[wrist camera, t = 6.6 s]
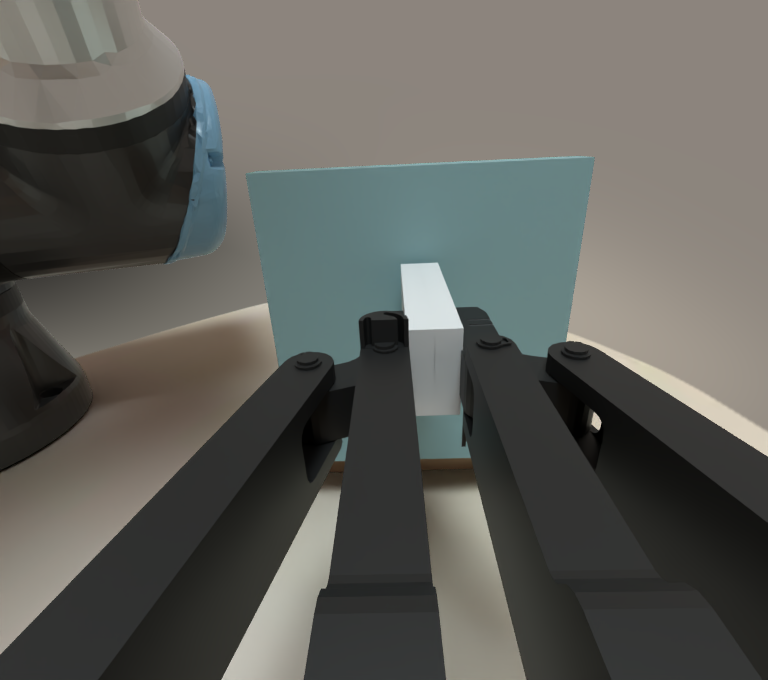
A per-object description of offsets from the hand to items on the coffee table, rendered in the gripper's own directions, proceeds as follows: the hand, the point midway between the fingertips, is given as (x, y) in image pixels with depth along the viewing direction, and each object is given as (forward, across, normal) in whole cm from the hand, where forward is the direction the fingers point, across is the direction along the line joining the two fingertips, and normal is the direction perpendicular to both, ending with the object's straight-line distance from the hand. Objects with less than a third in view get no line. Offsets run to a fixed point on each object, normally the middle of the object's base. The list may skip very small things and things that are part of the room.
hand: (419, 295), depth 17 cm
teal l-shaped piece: (+9, 0, -9) cm, 13 cm away
